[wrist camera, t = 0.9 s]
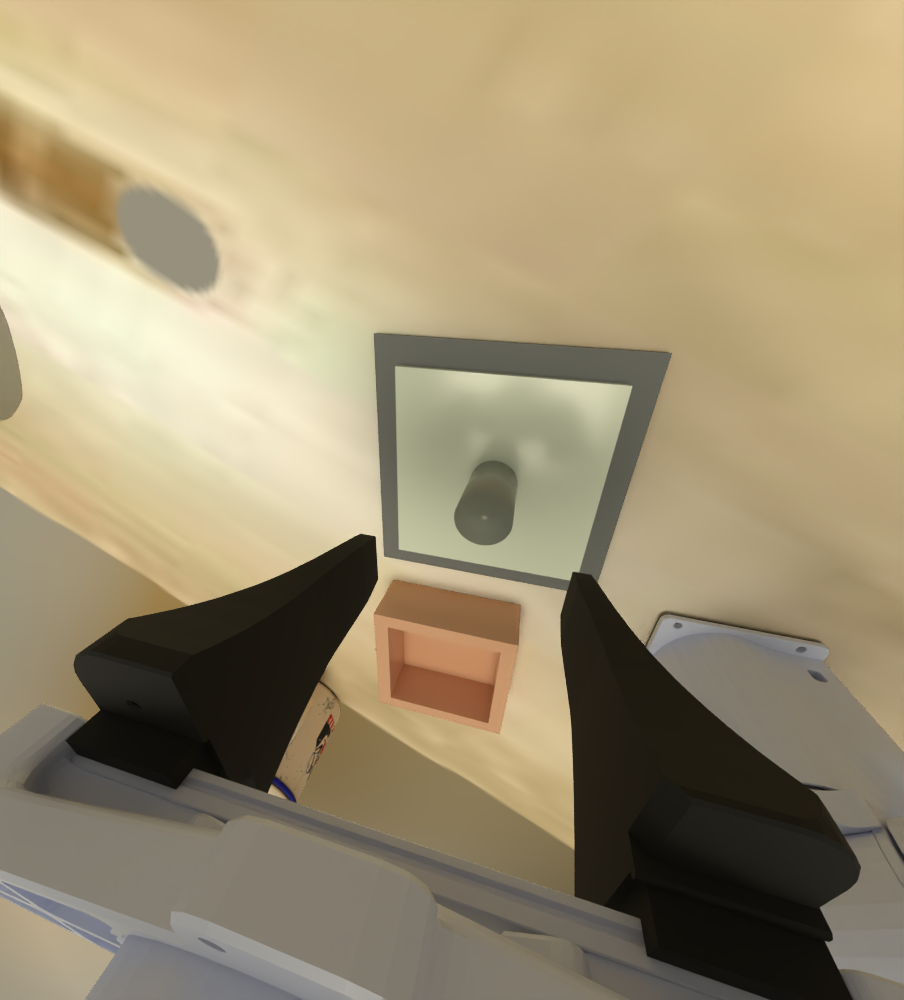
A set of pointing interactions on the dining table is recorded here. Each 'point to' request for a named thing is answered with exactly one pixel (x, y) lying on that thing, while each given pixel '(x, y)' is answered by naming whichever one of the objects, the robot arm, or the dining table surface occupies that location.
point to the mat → (531, 361)
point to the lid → (503, 465)
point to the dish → (446, 653)
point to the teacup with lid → (306, 744)
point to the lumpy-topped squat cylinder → (8, 372)
